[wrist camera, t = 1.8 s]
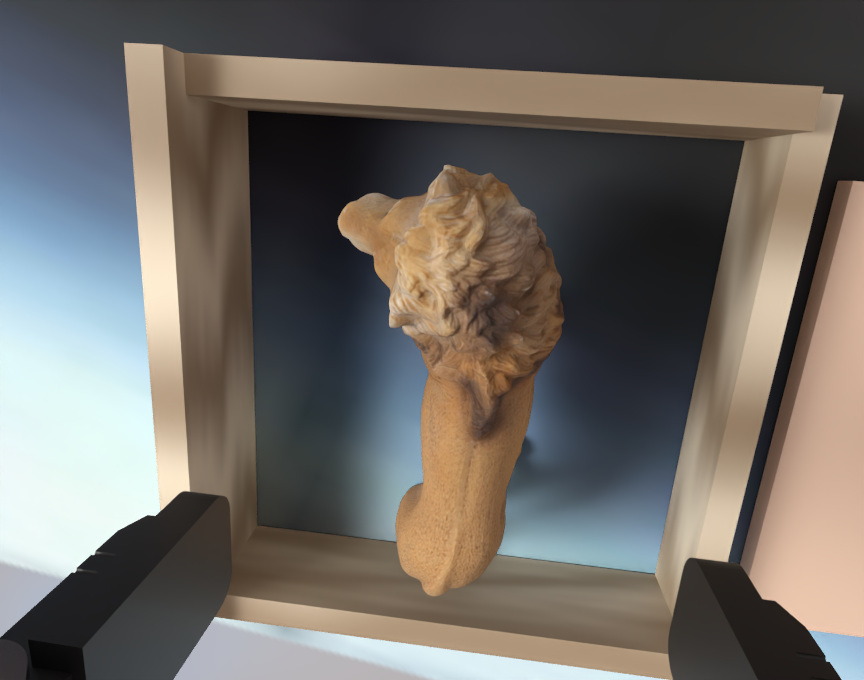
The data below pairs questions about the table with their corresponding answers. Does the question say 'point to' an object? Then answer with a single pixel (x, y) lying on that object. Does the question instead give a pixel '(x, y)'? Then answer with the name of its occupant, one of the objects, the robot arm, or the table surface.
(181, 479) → the frame
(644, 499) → the table surface
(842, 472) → the terracotta tile
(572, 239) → the table surface
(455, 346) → the lion figurine
